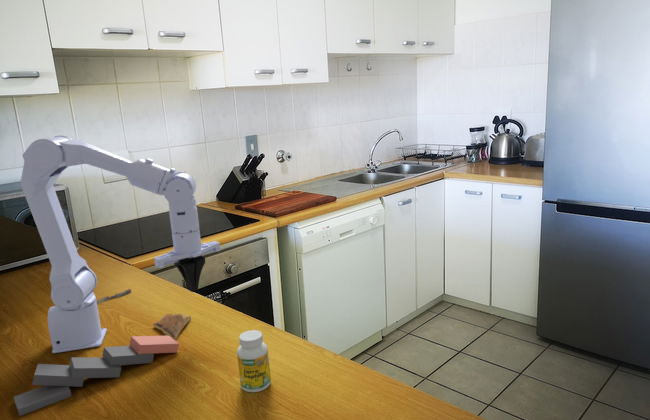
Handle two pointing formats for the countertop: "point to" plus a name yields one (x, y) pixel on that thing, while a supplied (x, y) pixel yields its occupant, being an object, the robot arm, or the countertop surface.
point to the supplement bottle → (253, 362)
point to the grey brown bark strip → (113, 296)
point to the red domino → (153, 344)
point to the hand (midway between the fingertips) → (192, 290)
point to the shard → (172, 324)
